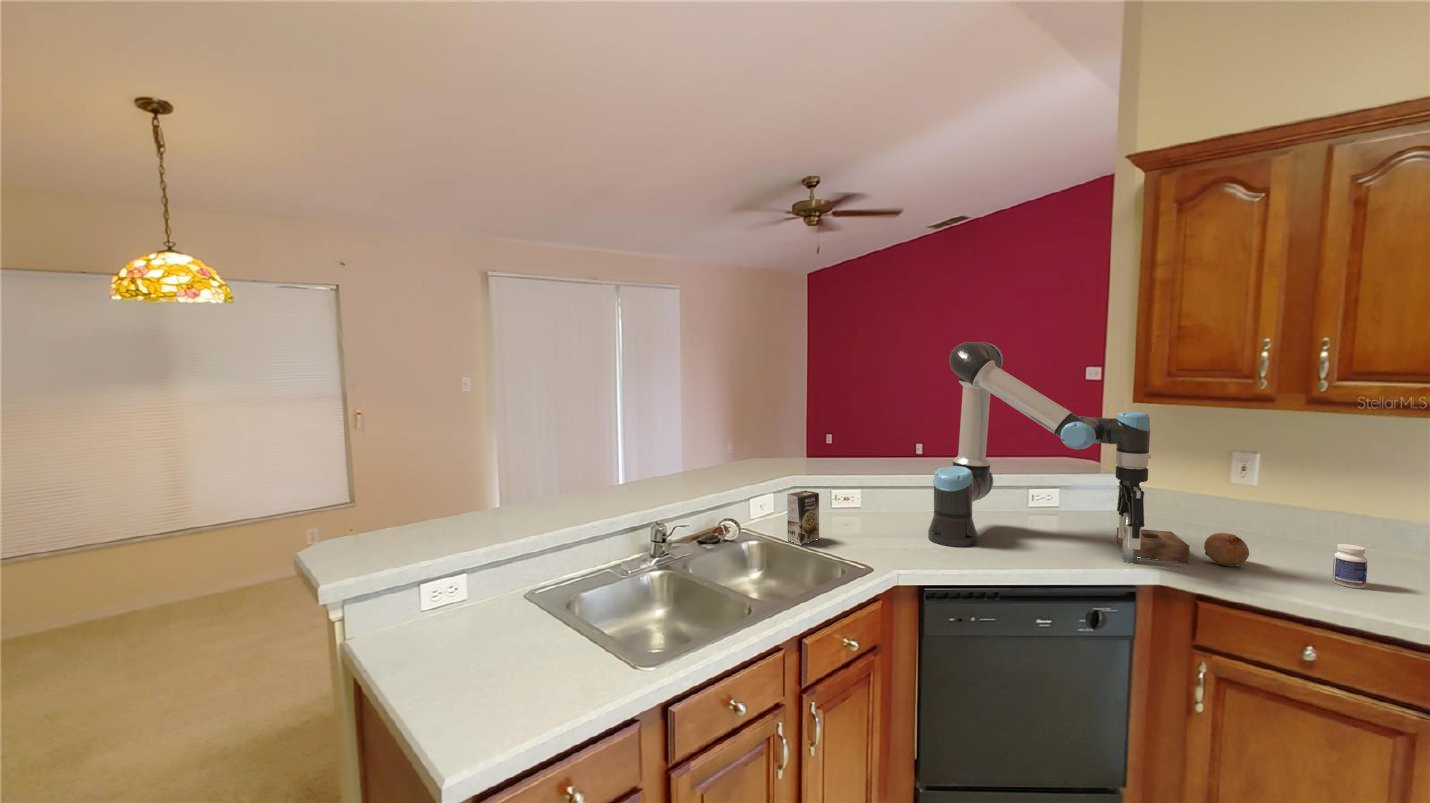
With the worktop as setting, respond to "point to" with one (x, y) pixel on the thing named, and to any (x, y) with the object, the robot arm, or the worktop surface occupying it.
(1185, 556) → the wooden block with hole
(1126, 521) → the steel pin
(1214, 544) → the kiwi fruit
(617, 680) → the worktop surface
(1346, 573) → the pill bottle
